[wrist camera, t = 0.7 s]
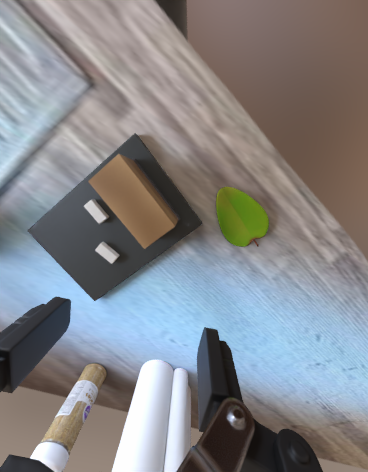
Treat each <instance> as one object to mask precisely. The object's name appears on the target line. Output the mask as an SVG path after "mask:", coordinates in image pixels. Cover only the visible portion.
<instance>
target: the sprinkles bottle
mask: <svg viewBox="0 0 368 472" xmlns="http://www.w3.org/2000/svg"><path fill="white" fill-rule="evenodd" d="M106 374H107V373H106V370H105V368H104V367H103V366H101V365H99V364H89V365H87V366H86V367H85V368H84V370H83V373H82V374H81V376H80V378H79V379H78V381H77V383H76V384H75V385H74V387H73V389H72V390H71V392H70V394H69V395H68V397H67V399H66V401H65V403H64V404H63V406H62V407H61V409H60V411H59V412H58V414H57V416H56V417H55V419H54V422H53V423H52V425H51V426H50V428H49V430H48V431H47V433H46V435H45V437H44V438H43V440H42V441H41V442H40V444H39V445H38V446H37V447H36V449H35V451H34V452H33V454H32V456H31V458H30V459H36V460H39V461H41V462H42V463H43V464H45V465H46V466H48V467H49V468H50V469H52V470H53V471H54V472H63V470H64V468H65V466H66V464H67V462H68V459H69V455H70V451H71V449H72V447H73V445H74V443H75V441H76V439H77V436H78V434H79V432H80V430H81V428H82V425H83V424H84V422H85V420H86V418H87V416H88V414H89V412H90V409H91V407H92V405H93V403H94V401H95V399H96V397H97V394H98V392H99V389H100V387H101V385H102V383H103V381H104V380H105V378H106Z"/></svg>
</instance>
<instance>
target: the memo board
mask: <svg viewBox="0 0 368 472" xmlns="http://www.w3.org/2000/svg"><path fill="white" fill-rule="evenodd" d="M118 154H121V155H123V156H125V157H127V158H129V159H133V158H134V159H136V160H137V161H138V163H139V164H140V165H141V167H142V168H143V169H144V170H145V172H146V173H147V174H148V176H149V177H150V178H151V180H152V181H153V182H154V184H155V185H156V186H157V188H158V189H159V190H160V192H161V193H162V194H163V195H164V197H165V198H166V199H167V201H168V202H169V203H170V205H171V206H172V207H173V209H174V210H175V211H176V213H177V214H178V215H179V216H180V218H181V219H180V220H179V221H178V222H177V223H176V226H175V227H174V228H172V229H171V230H170V231H168V232H167V233H166V234H164V235H163V236H162V237H160V238H159V239H158V240H156V241H155V242H154V243H152V244H151V245H150V246H148V247H147V248H145V249H144V248H143V247H142V246H141V244H140V243H139V242H138V241H137V240H136V238H135V237H134V236H133V235H132V234H131V232H130V231H129V230H128V229H127V228H126V226H125V225H124V224H123V223H122V222H121V220H120V219H119V218H118V217H117V216H116V214H115V213H114V212H113V211H112V210H111V208H110V207H109V206H108V205H107V204H106V202H105V201H104V200H103V199H102V198H101V196H100V195H99V194H98V193H97V192H96V190H95V189H94V188H93V187H92V186H91V184H90V183H89V182H88V181H89V180H90V179H91V178H92V177H93V176H94V175H96V174H97V173H98V172H99V171H100V170H101V169H102V168H103V167H104V166H106V165H107V164H108V163H109V162H110V161H111V160H112V159H113V158H114V157H116V156H117V155H118ZM93 199H95V200H96V202H97V203H98V204H99V205H100V206H101V208H102V209H103V210H104V211H105V212H106V214H107V215H108V216H109V218H108V219H106V220H105V221H104V222H103V223H101V224H99V223H98V222H97V221H96V220H95V219H94V218H93V216H92V215H91V214H90V213H89V212H88V211H87V209H86V208H85V207H84V205H85V204H87V203H88V202H89V201H90V200H93ZM201 224H202V222H201V220H200V219H199V218H198V216H197V215H196V214H195V212H194V211H193V210H192V208H191V207H190V206H189V204H188V203H187V201H186V200H185V199H184V197H183V196H182V195H181V193H180V192H179V191H178V189H177V188H176V187H175V185H174V184H173V183H172V181H171V180H170V178H169V177H168V176H167V174H166V173H165V172H164V170H163V169H162V168H161V166H160V165H159V164H158V162H157V161H156V159H155V158H154V157H153V155H152V154H151V153H150V151H149V150H148V149H147V147H146V146H145V145H144V143H143V142H142V141H141V139H140V138H139V136H138V135H137V134H136V133H135V134H134V135H132V136H131V137H130V138H129V139H128V140H127V141H126V142H125V143H124V144H123V145H121V146H120V147H119V148H118V149H117V150H116V151H115V152H114V153H113V154H111V155H110V156H109V157H108V158H107V159H106V160H105V161H104V162H103V163H102V164H100V165H99V166H98V167H97V168H96V169H95V170H94V171H93V172H92V173H90V174H89V175H88V176H87V177H86V178H85V179H84V180H83V181H82V182H81V183H79V184H78V185H77V186H76V187H75V188H74V189H73V190H72V191H71V192H69V193H68V194H67V195H66V196H65V197H64V198H63V199H62V200H61V201H60V202H58V203H57V204H56V205H55V206H54V207H53V208H52V209H51V210H50V211H49V212H47V213H46V214H45V215H44V216H43V217H42V218H41V219H40V220H39V221H37V222H36V223H35V224H34V225H33V226H32V227H31V228H30V229H29V230H28V232H29V233H30V234H31V235H32V236H33V237H34V238H35V239H36V241H37V242H38V243H39V244H40V245H41V246H42V247H43V248H44V249H45V250H46V251H47V252H48V253H49V254H50V255H51V256H52V257H53V258H54V259H55V260H56V261H57V262H58V263H59V265H60V266H61V267H62V268H63V269H64V270H65V271H66V272H67V273H68V274H69V275H70V276H71V277H72V278H73V279H74V280H75V281H76V282H77V283H78V284H79V285H80V286H81V287H82V289H83V290H84V291H85V292H86V293H87V294H88V295H89V296H90V297H91V298H92V299H93V300H94V301H96V300H97V299H99V298H100V297H101V296H103V295H104V294H106V293H107V292H108V291H110V290H111V289H112V288H114V287H115V286H117V285H118V284H119V283H121V282H122V281H124V280H125V279H126V278H128V277H129V276H131V275H132V274H133V273H135V272H136V271H137V270H139V269H140V268H142V267H143V266H144V265H146V264H147V263H149V262H150V261H151V260H153V259H154V258H156V257H157V256H158V255H160V254H161V253H163V252H164V251H165V250H167V249H168V248H169V247H171V246H172V245H174V244H175V243H176V242H178V241H179V240H181V239H182V238H183V237H185V236H186V235H188V234H189V233H190V232H192V231H193V230H194V229H196V228H197V227H199V226H200V225H201ZM102 242H105V243H106V244H107V245H108V246H109V247H111V248H112V249H113V250H114V251H115V252H117V253H118V254H119V255H120V256H119V257H118V258H117V259H116V260H115V261H114V262H113V263H112V264H111V263H110V262H109V261H107V260H106V259H105V258H104V257H103V256H101V255H100V254H99V253H98V252H96V251H95V249H96V248H97V247H98V246H99V245H100V243H102Z"/></svg>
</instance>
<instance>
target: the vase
mask: <svg viewBox="0 0 368 472" xmlns="http://www.w3.org/2000/svg"><path fill="white" fill-rule="evenodd" d="M190 449H191V389H190V387H189V385H188V372H187V371H186V370H185V369H182V368H177V369H175V370H174V371H173V368H172V367H171V366H170V365H169V364H168V363H167V362H165V361H162V360H150V361H148V362H146V363H145V364H144V365H143V366H142V368H141V371H140V374H139V378H138V381H137V385H136V388H135V392H134V395H133V399H132V402H131V406H130V409H129V413H128V417H127V420H126V424H125V427H124V431H123V434H122V438H121V441H120V445H119V449H118V452H117V455H116V459H115V462H114V466H113V469H112V472H176V471H177V470H178V468H179V466H180V465H181V463H182V462H183V460H184V458H185V457H186V455H187V454H188V452H189V450H190Z"/></svg>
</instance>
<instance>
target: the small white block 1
mask: <svg viewBox="0 0 368 472" xmlns="http://www.w3.org/2000/svg"><path fill="white" fill-rule="evenodd" d="M84 207H85V208H86V209H87V211H88V212H89V213H90V214H91V215H92V216H93V218H94V219H95V220H96V221H97V222H98V223H99V224H101V223H103V222H104V221H105V220H106V219H108V218H109V216H108V215H107V214H106V212H105V211H104V210H103V209H102V208H101V206H100V205H99V204H98V203H97V202H96V200H95V199H93V200H90V201H89V202H88V203H87V204H85V205H84Z"/></svg>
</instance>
